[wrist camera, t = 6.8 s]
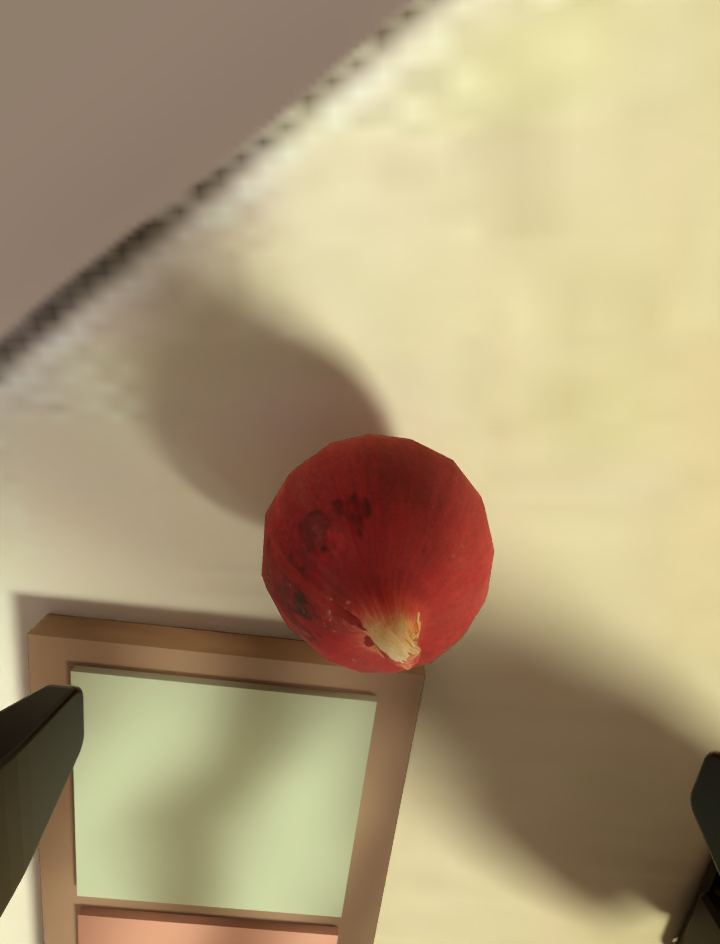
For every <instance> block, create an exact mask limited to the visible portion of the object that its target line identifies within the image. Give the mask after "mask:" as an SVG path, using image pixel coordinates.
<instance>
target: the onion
mask: <svg viewBox="0 0 720 944" xmlns="http://www.w3.org/2000/svg"><path fill="white" fill-rule="evenodd" d="M493 555H494V548H493V543H492V538H491V534H490V530H489V525H488V521H487V516H486V512H485V507H484V504H483V501H482V498H481V496H480V495H479V493H478V492H477V491H476V489H475V488H474V487H473V485H472V484H471V483H470V482H469V480H468V479H467V478H466V476H465V475H464V474H463V472H462V471H461V470H460V469H459V467H458V466H457V465H456V463H455V462H454V461H453V460H452V459H450V458H448V457H446V456H444V455H442V454H440V453H438V452H436V451H434V450H432V449H430V448H428V447H426V446H424V445H422V444H420V443H418V442H416V441H414V440H411V439H406V438H398V437H390V436H382V435H374V434H367V435H363V436H359V437H355V438H351V439H347V440H342V441H338V442H334V443H331V444H329V445H328V446H326V447H325V448H324V449H322V450H321V451H319V452H318V453H317V454H315V455H314V456H312V457H311V458H309V459H308V460H307V461H305V462H304V463H302V464H301V465H299V466H298V467H297V468H296V469H295V470H293V471H292V472H291V473H290V474H289V476H288V477H287V479H286V481H285V482H284V484H283V486H282V487H281V489H280V491H279V492H278V494H277V496H276V497H275V499H274V501H273V502H272V504H271V506H270V507H269V509H268V511H267V512H266V514H265V530H264V546H263V563H262V577H263V580H264V582H265V585H266V588H267V590H268V592H269V594H270V596H271V597H272V599H273V601H274V603H275V605H276V607H277V609H278V611H279V612H280V614H281V616H282V618H283V620H284V622H285V624H286V625H287V626H288V627H289V628H290V629H291V630H293V631H294V632H295V633H296V634H297V635H299V636H300V637H301V638H302V639H303V640H304V641H306V642H307V643H308V644H309V645H310V646H311V647H312V648H313V649H314V650H315V651H316V652H317V653H318V654H319V655H320V656H321V657H322V658H324V659H326V660H328V661H329V662H332V663H335V664H338V665H341V666H343V667H346V668H349V669H352V670H355V671H358V672H361V673H396V672H400V671H403V670H409V669H410V668H413V667H416V666H419V665H423V664H427V663H431V662H432V661H434V660H435V659H436V658H437V657H439V656H440V655H441V654H442V653H444V652H445V651H446V650H447V649H449V648H450V647H451V646H452V645H454V644H455V643H456V642H457V641H459V640H460V639H461V638H462V637H463V635H464V634H465V633H466V631H467V629H468V628H469V626H470V625H471V623H472V621H473V620H474V618H475V616H476V615H477V613H478V612H479V610H480V608H481V607H482V605H483V603H484V602H485V599H486V596H487V593H488V588H489V581H490V575H491V568H492V562H493Z"/></svg>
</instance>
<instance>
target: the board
mask: <svg viewBox="0 0 720 944" xmlns="http://www.w3.org/2000/svg"><path fill="white" fill-rule="evenodd" d="M27 641H28V659H29V677H30V694H32V693H34V692H35V691H37V690H39V689H41V688H43V687H44V686H47V685H49V684H64V685H74V686H78V687H80V688H81V689H82V692H83V698H84V740H83V744H82V748H81V751H80V753H79V756H78V758H77V760H76V762H75V765H74V767H73V769H72V771H71V773H70V776H69V778H68V780H67V782H66V784H65V787H64V789H63V791H62V793H61V796H60V798H59V800H58V802H57V804H56V807H55V809H54V811H53V813H52V815H51V818H50V820H49V822H48V824H47V826H46V829H45V831H44V833H43V835H42V837H41V840H40V842H39V858H40V876H41V894H42V912H43V930H44V944H373V943H374V938H375V933H376V927H377V922H378V917H379V912H380V907H381V902H382V896H383V891H384V886H385V881H386V876H387V871H388V865H389V860H390V855H391V850H392V845H393V840H394V834H395V829H396V824H397V819H398V814H399V809H400V803H401V798H402V793H403V788H404V783H405V778H406V772H407V767H408V762H409V757H410V752H411V747H412V741H413V736H414V731H415V726H416V721H417V716H418V710H419V705H420V700H421V695H422V690H423V685H424V680H425V671H424V666H423V665H419V666H416V667H413V668H410V669H409V670H403V671H400V672H396V673H361V672H358V671H355V670H352V669H349V668H346V667H343V666H341V665H338V664H335V663H332V662H329V661H328V660H326V659H324V658H322V657H321V656H320V655H319V654H318V653H317V652H316V651H315V650H314V649H313V648H312V647H311V646H310V645H309V644H308V643H307V642H306V641H299V640H290V639H280V638H271V637H261V636H252V635H243V634H233V633H224V632H214V631H205V630H195V629H186V628H176V627H167V626H157V625H148V624H138V623H129V622H119V621H110V620H100V619H91V618H81V617H72V616H63V615H53V614H47V615H46V616H45V617H44V618H43V619H42V620H41V621H40V622H39V623H38V624H37V625H36V626H35V627H34V628H33V629H32V630H31V631H30V632H29V633H28V634H27Z"/></svg>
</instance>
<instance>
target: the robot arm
mask: <svg viewBox="0 0 720 944" xmlns="http://www.w3.org/2000/svg"><path fill="white" fill-rule="evenodd" d="M83 740H84V698H83V692H82V689H81V688H80V687H78V686H74V685H64V684H49V685H47V686H44V687H43V688H41V689H39V690H37V691H35V692H34V693H32V694H30V695H28V696H26V697H25V698H23V699H21V700H19V701H17V702H16V703H14V704H12V705H10V706H8V707H7V708H5V709H3V710H1V711H0V917H1V915H2V914H3V912H4V910H5V908H6V906H7V905H8V903H9V901H10V899H11V898H12V896H13V894H14V892H15V890H16V888H17V887H18V885H19V883H20V881H21V879H22V877H23V876H24V874H25V872H26V870H27V867H28V865H29V863H30V861H31V859H32V857H33V855H34V853H35V851H36V848H37V846H38V844H39V842H40V840H41V837H42V835H43V833H44V831H45V829H46V826H47V824H48V822H49V820H50V818H51V815H52V813H53V811H54V809H55V807H56V804H57V802H58V800H59V798H60V796H61V793H62V791H63V789H64V787H65V784H66V782H67V780H68V778H69V776H70V773H71V771H72V769H73V767H74V765H75V762H76V760H77V758H78V756H79V753H80V751H81V748H82V744H83ZM691 806H692V810H693V813H694V816H695V818H696V821H697V823H698V826H699V828H700V830H701V833H702V835H703V837H704V840H705V842H706V844H707V847H708V849H709V851H710V854H711V856H712V860H711V862H710V865H709V867H708V870H707V872H706V874H705V877H704V879H703V881H702V884H701V886H700V888H699V891H698V893H697V896H696V898H695V900H694V903H693V905H692V907H691V910H690V912H689V914H688V917H687V919H686V922H685V924H684V926H683V929H682V931H681V933H680V936H679V938H678V941H677V943H676V944H720V751H711V752H709V753H708V754H707V755H706V756H705V758H704V761H703V763H702V766H701V769H700V771H699V774H698V776H697V779H696V781H695V784H694V787H693V789H692V792H691Z"/></svg>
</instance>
